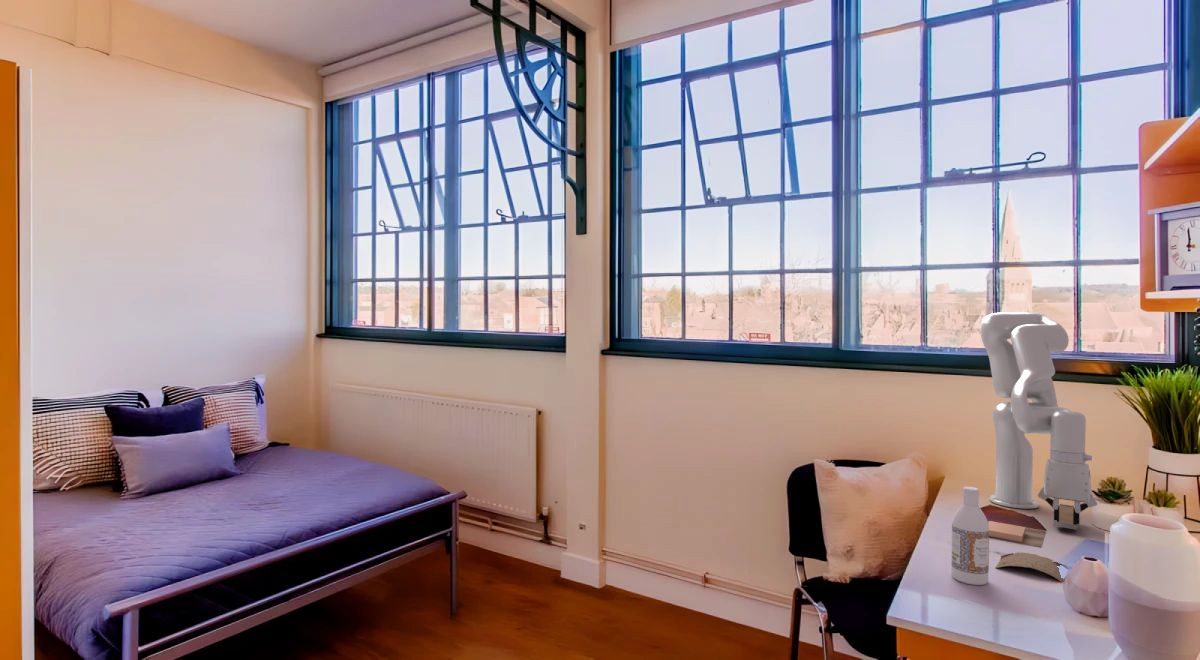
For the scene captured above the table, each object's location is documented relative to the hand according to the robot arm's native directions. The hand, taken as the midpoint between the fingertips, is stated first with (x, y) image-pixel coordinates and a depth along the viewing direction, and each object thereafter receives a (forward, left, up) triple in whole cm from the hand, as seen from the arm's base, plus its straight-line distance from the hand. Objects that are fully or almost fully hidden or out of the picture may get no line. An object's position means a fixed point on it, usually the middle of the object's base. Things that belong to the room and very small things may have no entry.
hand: (1066, 524), depth 168 cm
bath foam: (+54, -15, -2) cm, 56 cm away
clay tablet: (+38, -5, -3) cm, 38 cm away
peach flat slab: (+15, -12, +1) cm, 19 cm away
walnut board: (+17, -11, -2) cm, 20 cm away
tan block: (+3, 0, 0) cm, 3 cm away
